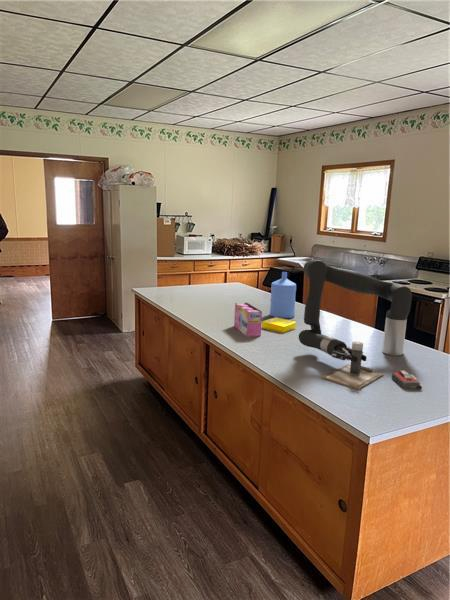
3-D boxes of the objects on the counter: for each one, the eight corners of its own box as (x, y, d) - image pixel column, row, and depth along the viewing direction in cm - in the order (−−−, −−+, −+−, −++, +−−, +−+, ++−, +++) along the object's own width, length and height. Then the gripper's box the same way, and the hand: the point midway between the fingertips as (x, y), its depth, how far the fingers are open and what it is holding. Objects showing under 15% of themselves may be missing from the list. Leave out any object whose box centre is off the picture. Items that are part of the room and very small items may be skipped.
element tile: (283, 334, 238) (283, 325, 237) (260, 328, 247) (260, 320, 246) (296, 328, 250) (297, 320, 249) (274, 324, 259) (275, 316, 258)
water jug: (293, 319, 269) (296, 274, 263) (268, 317, 272) (270, 273, 266) (294, 314, 284) (297, 271, 278) (270, 312, 287) (273, 269, 281)
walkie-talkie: (427, 391, 166) (403, 372, 186) (428, 380, 165) (404, 362, 185) (404, 391, 166) (383, 372, 185) (405, 380, 165) (384, 362, 184)
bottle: (352, 372, 181) (355, 340, 178) (362, 374, 178) (365, 343, 175) (347, 374, 178) (350, 343, 175) (357, 377, 175) (360, 345, 172)
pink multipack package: (232, 325, 251) (233, 302, 248) (245, 324, 253) (246, 302, 251) (247, 337, 229) (248, 312, 226) (261, 336, 231) (262, 311, 228)
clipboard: (347, 365, 191) (348, 361, 190) (383, 375, 180) (383, 371, 180) (321, 378, 175) (321, 374, 175) (358, 390, 164) (359, 386, 164)
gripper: (320, 340, 185) (348, 352, 170) (346, 337, 191) (375, 348, 176) (319, 357, 186) (346, 370, 171) (345, 353, 193) (374, 366, 178)
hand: (361, 359), depth 174 cm, fingers closed on bottle, 4 cm apart
